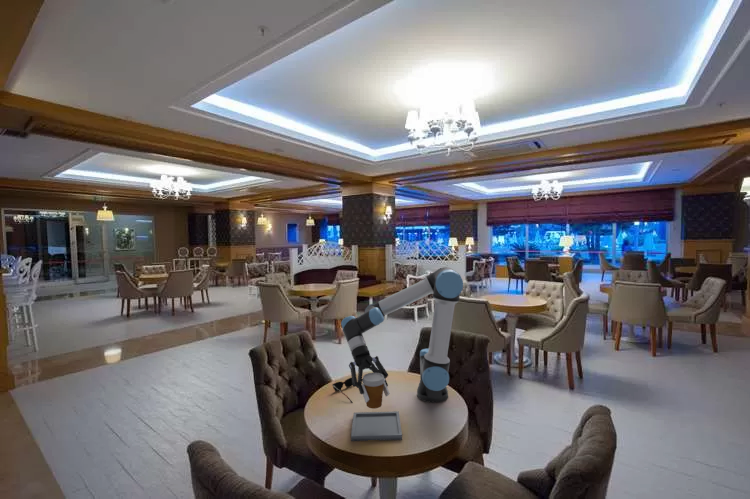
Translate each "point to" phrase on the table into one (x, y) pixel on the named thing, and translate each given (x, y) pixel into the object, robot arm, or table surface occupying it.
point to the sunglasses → (339, 385)
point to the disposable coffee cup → (374, 389)
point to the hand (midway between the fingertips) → (377, 398)
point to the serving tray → (376, 426)
